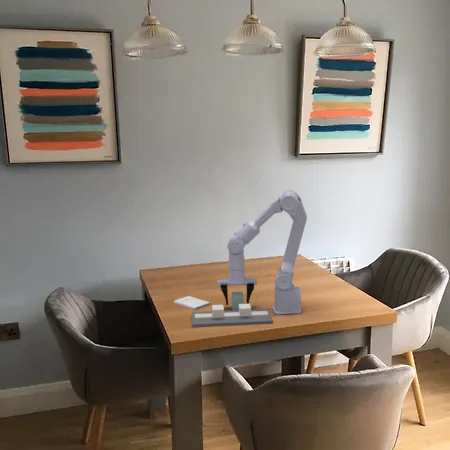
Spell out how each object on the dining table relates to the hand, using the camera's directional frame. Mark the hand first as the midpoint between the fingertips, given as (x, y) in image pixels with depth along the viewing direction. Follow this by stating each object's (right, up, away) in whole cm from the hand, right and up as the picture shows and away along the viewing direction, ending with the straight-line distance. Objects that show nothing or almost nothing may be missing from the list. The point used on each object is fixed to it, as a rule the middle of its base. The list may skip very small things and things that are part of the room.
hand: (237, 303), depth 200 cm
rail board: (-2, -4, -10) cm, 11 cm away
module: (0, -2, 0) cm, 2 cm away
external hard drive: (-17, -2, +7) cm, 19 cm away
